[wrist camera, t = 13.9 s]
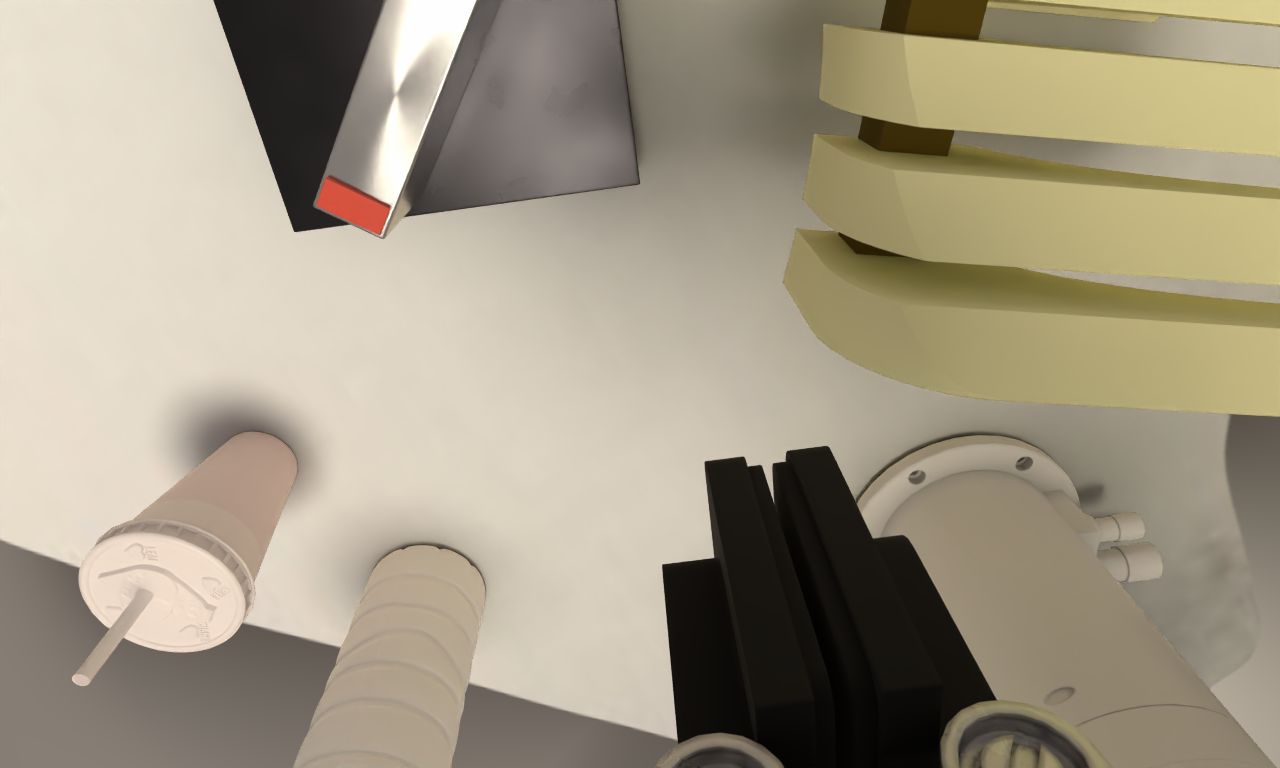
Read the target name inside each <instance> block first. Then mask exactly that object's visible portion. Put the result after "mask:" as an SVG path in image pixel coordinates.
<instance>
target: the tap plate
mask: <svg viewBox="0 0 1280 768" xmlns="http://www.w3.org/2000/svg"><path fill="white" fill-rule="evenodd" d="M383 1H384V0H214V3H215V6H216V9H217V12H218V15H219V18H220V20H221V23H222V26H223V29H224V32H225V35H226V38H227V41H228V43H229V46H230V49H231V52H232V55H233V58H234V61H235V64H236V66H237V69H238V72H239V75H240V78H241V81H242V84H243V86H244V89H245V92H246V95H247V98H248V101H249V104H250V107H251V109H252V112H253V115H254V118H255V121H256V124H257V127H258V130H259V132H260V135H261V138H262V141H263V144H264V147H265V150H266V152H267V155H268V158H269V161H270V164H271V167H272V170H273V173H274V175H275V178H276V181H277V184H278V187H279V190H280V193H281V195H282V198H283V201H284V204H285V207H286V210H287V213H288V216H289V218H290V221H291V224H292V227H293V230H294V232H300V231H307V230H315V229H322V228H329V227H336V226H343V225H351V224H349V223H347V222H345V221H343V220H340V219H338V218H336V217H334V216H332V215H330V214H328V213H326V212H323V211H321V210H319V209H317V208H315V207H314V201H315V198H316V195H317V192H318V189H319V187H320V184H321V181H322V178H323V175H324V172H325V169H326V166H327V163H328V161H329V158H330V155H331V152H332V149H333V146H334V143H335V140H336V137H337V134H338V132H339V129H340V126H341V123H342V120H343V117H344V114H345V111H346V108H347V105H348V103H349V100H350V97H351V94H352V91H353V88H354V85H355V82H356V79H357V77H358V74H359V71H360V68H361V65H362V62H363V59H364V56H365V53H366V50H367V48H368V45H369V42H370V39H371V36H372V33H373V30H374V27H375V24H376V22H377V19H378V16H379V13H380V10H381V7H382V4H383ZM638 184H640V178H639V171H638V163H637V155H636V147H635V139H634V132H633V124H632V116H631V108H630V101H629V93H628V85H627V77H626V69H625V62H624V54H623V46H622V38H621V30H620V23H619V15H618V7H617V0H501V2H500V5H499V7H498V10H497V12H496V14H495V17H494V19H493V22H492V24H491V27H490V29H489V32H488V34H487V37H486V39H485V42H484V44H483V46H482V49H481V51H480V54H479V56H478V59H477V61H476V64H475V66H474V69H473V71H472V74H471V76H470V78H469V81H468V83H467V86H466V88H465V91H464V93H463V96H462V98H461V101H460V103H459V106H458V108H457V110H456V113H455V115H454V118H453V120H452V123H451V125H450V128H449V130H448V133H447V135H446V138H445V140H444V142H443V145H442V147H441V150H440V152H439V155H438V157H437V160H436V162H435V165H434V167H433V169H432V172H431V174H430V177H429V179H428V182H427V184H426V187H425V189H424V192H423V194H422V197H421V198H420V199H419V200H418V201H417V203H416V204H415V205H414V206H413V207H412V208H411V209H410V210H409V212H408V213H407V214H406V215H405V216H404V217H408V216H415V215H423V214H430V213H437V212H444V211H451V210H459V209H466V208H473V207H480V206H487V205H495V204H502V203H509V202H516V201H523V200H530V199H538V198H545V197H552V196H559V195H566V194H574V193H581V192H588V191H595V190H602V189H610V188H617V187H624V186H631V185H638Z"/></svg>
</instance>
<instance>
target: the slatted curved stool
mask: <svg viewBox="0 0 1280 768" xmlns="http://www.w3.org/2000/svg"><path fill="white" fill-rule="evenodd" d="M986 7H990V8H1001V9H1011V10H1022V11H1033V12H1043V13H1054V14H1065V15H1076V16H1086V17H1097V18H1108V19H1118V20H1129V21H1140V22H1150V23H1153V22H1155V21H1156V20H1157V19H1158V18H1160V17H1161V16H1166V17H1177V18H1188V19H1200V20H1211V21H1222V22H1233V23H1244V24H1255V25H1266V26H1277V27H1280V0H886V5H885V9H884V14H883V19H882V24H881V29H875V28H864V27H853V26H842V25H831V24H823V54H822V70H821V82H820V92H819V99H821V100H823V101H825V102H827V103H829V104H831V105H832V106H835V107H837V108H839V109H842V110H845V111H848V112H852V113H855V114H859V115H863V116H862V121H861V126H860V131H859V136H858V137H848V136H836V135H823V134H814V138H813V145H812V151H811V157H810V163H809V169H808V174H807V179H806V185H805V190H804V195H803V200H804V201H805V202H806V203H807V204H808V206H809V207H810V208H811V209H812V210H813V211H814V212H815V213H816V214H817V215H818V216H819V218H820V219H821V220H822V221H824V222H825V223H826V224H827V225H828V226H830V227H831V228H833V229H835V230H837V231H838V232H833V231H819V230H805V229H796V232H795V236H794V241H793V245H792V249H791V253H790V257H789V261H788V265H787V269H786V272H785V276H784V280H783V283H784V285H785V286H786V288H787V290H788V291H789V293H790V295H791V297H792V298H793V300H794V302H795V303H796V305H797V307H798V308H799V310H800V312H801V313H802V315H803V317H804V318H805V320H806V322H807V324H808V325H809V327H810V329H811V330H812V331H813V332H814V334H815V335H816V336H817V337H818V339H820V340H821V341H822V342H823V343H824V344H826V345H827V346H828V347H829V348H830V349H832V350H833V351H835V352H837V353H838V354H840V355H841V356H843V357H845V358H846V359H848V360H850V361H852V362H854V363H856V364H858V365H860V366H862V367H864V368H866V369H868V370H871V371H874V372H876V373H879V374H881V375H884V376H886V377H889V378H891V379H895V380H898V381H901V382H904V383H907V384H911V385H914V386H917V387H921V388H925V389H929V390H933V391H938V392H942V393H946V394H951V395H957V396H963V397H969V398H975V399H985V400H996V401H1009V402H1027V403H1045V404H1063V405H1081V406H1099V407H1117V408H1135V409H1153V410H1171V411H1189V412H1207V413H1225V414H1243V415H1263V416H1279V417H1280V304H1275V303H1264V302H1253V301H1242V300H1232V299H1222V298H1213V297H1203V296H1194V295H1185V294H1176V293H1168V292H1159V291H1151V290H1144V289H1136V288H1129V287H1121V286H1114V285H1108V284H1101V283H1095V282H1088V281H1082V280H1077V279H1071V278H1065V277H1060V276H1055V275H1050V274H1045V273H1040V272H1035V271H1031V270H1027V269H1022V268H1035V269H1049V270H1064V271H1079V272H1093V273H1108V274H1122V275H1137V276H1151V277H1166V278H1181V279H1195V280H1210V281H1224V282H1239V283H1254V284H1268V285H1280V189H1279V188H1269V187H1258V186H1248V185H1237V184H1227V183H1217V182H1208V181H1198V180H1189V179H1179V178H1170V177H1161V176H1152V175H1144V174H1135V173H1127V172H1119V171H1111V170H1104V169H1096V168H1089V167H1082V166H1075V165H1068V164H1061V163H1055V162H1049V161H1043V160H1037V159H1031V158H1026V157H1020V156H1015V155H1010V154H1005V153H1001V152H996V151H992V150H987V149H983V148H979V147H974V146H961V145H951V142H952V138H953V134H954V130H960V131H973V132H985V133H997V134H1010V135H1022V136H1034V137H1046V138H1059V139H1071V140H1083V141H1096V142H1108V143H1120V144H1133V145H1145V146H1157V147H1169V148H1182V149H1194V150H1206V151H1219V152H1231V153H1243V154H1256V155H1268V156H1280V68H1278V67H1267V66H1256V65H1245V64H1235V63H1224V62H1213V61H1203V60H1192V59H1181V58H1171V57H1160V56H1150V55H1140V54H1129V53H1119V52H1109V51H1099V50H1089V49H1079V48H1069V47H1059V46H1049V45H1040V44H1030V43H1021V42H1012V41H1003V40H994V39H985V38H979V34H980V30H981V26H982V22H983V19H984V15H985V11H986ZM1018 267H1020V268H1018Z"/></svg>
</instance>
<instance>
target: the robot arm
mask: <svg viewBox="0 0 1280 768" xmlns="http://www.w3.org/2000/svg"><path fill="white" fill-rule="evenodd" d="M772 469H773V489H774V502H773V499H772V496H771V493H770V490H769V486H768V483H767V480H766V477H765V474H764V471H763V468H762V466H761V465H757V466H749V467H747V463H746V460H745V457H736V458H728V459H720V460H712V461H705V474H706V483H707V493H708V502H709V511H710V520H711V530H712V539H713V548H714V558H711V559H703V560H695V561H687V562H679V563H671V564H663V565H662V570H663V582H664V593H665V604H666V615H667V626H668V637H669V648H670V659H671V670H672V681H673V692H674V704H675V715H676V726H677V737H678V744H677V745H676V746H675V747H674V748H673V749H671V750H670V751H669V752H668V753H666V754H665V755H664V756H663V757H662V758H661V759H660V760H659V762H658V764H657V765H656V766H655V768H1276V766H1275V765H1274V764H1273V763H1272V762H1271V761H1270V760H1269V758H1268V757H1267V756H1266V755H1265V754H1264V753H1263V751H1262V750H1261V749H1260V748H1259V747H1258V746H1257V744H1256V743H1255V742H1254V741H1253V740H1252V739H1251V738H1250V736H1249V735H1248V734H1247V733H1246V732H1245V730H1244V729H1243V728H1242V727H1241V726H1240V725H1239V723H1238V722H1237V721H1236V720H1235V719H1234V717H1233V716H1232V715H1231V714H1230V713H1229V712H1228V710H1227V709H1226V708H1225V707H1224V706H1223V705H1222V704H1221V702H1220V701H1219V700H1218V699H1217V698H1216V696H1215V695H1214V694H1213V693H1212V692H1211V691H1210V689H1209V688H1208V687H1207V686H1206V685H1205V683H1204V682H1203V681H1202V680H1201V679H1200V678H1199V676H1198V675H1197V674H1196V673H1195V672H1194V671H1193V669H1192V668H1191V667H1190V666H1189V665H1188V664H1187V662H1186V661H1185V660H1184V659H1183V658H1182V657H1181V655H1180V654H1179V653H1178V652H1177V651H1176V649H1175V648H1174V647H1173V646H1172V645H1171V644H1170V642H1169V641H1168V640H1167V639H1166V638H1165V637H1164V635H1163V634H1162V633H1161V632H1160V631H1159V630H1158V628H1157V627H1156V626H1155V625H1154V624H1153V623H1152V621H1151V620H1150V619H1149V618H1148V617H1147V616H1146V614H1145V613H1144V612H1143V611H1142V610H1141V608H1140V607H1139V606H1138V605H1137V604H1136V603H1135V601H1134V600H1133V599H1132V598H1131V597H1130V596H1129V594H1128V593H1127V592H1126V591H1125V590H1124V589H1123V587H1122V586H1121V585H1120V584H1119V583H1118V582H1117V581H1120V582H1122V583H1128V582H1136V581H1144V580H1152V579H1157V578H1160V577H1161V575H1162V573H1163V562H1162V559H1161V556H1160V553H1159V552H1158V550H1157V549H1156V548H1155V546H1153V545H1152V544H1151V543H1149V542H1147V543H1137V544H1129V545H1121V546H1113V547H1111V548H1110V549H1104V550H1098V547H1099V545H1100V542H1108V541H1114V542H1118V541H1126V540H1134V539H1141V538H1143V537H1144V535H1145V526H1144V523H1143V520H1142V519H1141V517H1140V516H1139V515H1138V514H1136V513H1135V512H1133V513H1125V514H1117V515H1110V516H1107V517H1103V518H1095V519H1094V518H1093V517H1092V516H1091V515H1088V514H1084V513H1083V512H1082V511H1081V510H1080V502H1079V499H1078V495H1077V491H1076V489H1075V487H1074V485H1073V484H1072V482H1071V480H1070V479H1069V477H1068V475H1067V474H1066V473H1065V472H1064V471H1063V470H1062V469H1061V467H1060V466H1059V465H1058V464H1057V463H1056V462H1055V461H1054V460H1053V459H1052V458H1050V457H1049V456H1048V455H1046V454H1045V453H1044V452H1042V451H1041V450H1040V449H1038V448H1036V447H1034V446H1032V445H1029V444H1027V443H1025V442H1023V441H1020V440H1016V439H1011V438H1007V437H1002V436H987V435H974V436H966V437H959V438H952V439H949V440H945V441H942V442H938V443H935V444H931V445H929V446H927V447H925V448H922V449H920V450H918V451H916V452H914V453H911V454H909V455H908V456H906V457H905V458H903V459H901V460H900V461H898V462H897V463H895V464H894V465H892V466H891V467H889V468H888V469H887V470H886V471H885V472H884V473H882V474H881V475H880V476H879V477H878V478H877V479H876V480H875V481H874V482H873V483H872V484H871V485H870V486H869V488H868V489H867V490H866V491H865V493H864V494H863V495H862V496H861V498H860V499H859V501H858V503H857V504H856V502H855V500H854V498H853V496H852V493H851V491H850V489H849V487H848V485H847V483H846V481H845V479H844V477H843V475H842V472H841V470H840V468H839V466H838V464H837V462H836V460H835V458H834V456H833V454H832V452H831V450H830V448H829V447H828V446H822V447H814V448H806V449H798V450H790V451H787V453H786V462H780V463H773V468H772Z"/></svg>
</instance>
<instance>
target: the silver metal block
mask: <svg viewBox="0 0 1280 768" xmlns="http://www.w3.org/2000/svg"><path fill="white" fill-rule="evenodd" d="M500 2H501V0H384V1H383V4H382V7H381V10H380V13H379V16H378V19H377V22H376V24H375V27H374V30H373V33H372V36H371V39H370V42H369V45H368V48H367V50H366V53H365V56H364V59H363V62H362V65H361V68H360V71H359V74H358V77H357V79H356V82H355V85H354V88H353V91H352V94H351V97H350V100H349V103H348V105H347V108H346V111H345V114H344V117H343V120H342V123H341V126H340V129H339V132H338V134H337V137H336V140H335V143H334V146H333V149H332V152H331V155H330V158H329V161H328V163H327V166H326V169H325V172H324V175H323V178H322V181H321V184H320V187H319V189H318V192H317V195H316V198H315V201H314V207H315V208H317V209H319V210H321V211H323V212H326V213H328V214H330V215H332V216H334V217H336V218H338V219H340V220H343V221H345V222H347V223H349V224H351V225H353V226H355V227H358V228H360V229H362V230H364V231H366V232H368V233H370V234H372V235H375V236H377V237H379V238H381V239H384V238H385V237H386V236H387V235H388V234H389V233H390V232H391V231H392V230H393V228H394V227H395V226H396V225H397V224H398V223H399V222H400V221H401V219H402V218H403V217H404V216H405V215H406V214H407V213H408V212H409V210H410V209H411V208H412V207H413V206H414V205H415V204H416V203H417V201H418V200H419V199H420V198H421V197H422V194H423V192H424V189H425V187H426V184H427V182H428V179H429V177H430V174H431V172H432V169H433V167H434V165H435V162H436V160H437V157H438V155H439V152H440V150H441V147H442V145H443V142H444V140H445V138H446V135H447V133H448V130H449V128H450V125H451V123H452V120H453V118H454V115H455V113H456V110H457V108H458V106H459V103H460V101H461V98H462V96H463V93H464V91H465V88H466V86H467V83H468V81H469V78H470V76H471V74H472V71H473V69H474V66H475V64H476V61H477V59H478V56H479V54H480V51H481V49H482V46H483V44H484V42H485V39H486V37H487V34H488V32H489V29H490V27H491V24H492V22H493V19H494V17H495V14H496V12H497V10H498V7H499V5H500Z"/></svg>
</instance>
